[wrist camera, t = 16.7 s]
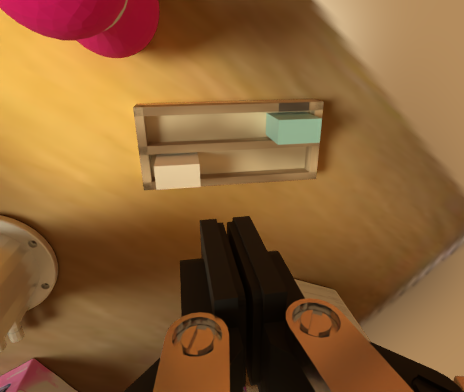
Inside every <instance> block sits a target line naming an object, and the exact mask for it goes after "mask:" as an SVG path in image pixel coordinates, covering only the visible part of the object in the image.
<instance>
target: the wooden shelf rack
mask: <svg viewBox="0 0 464 392" xmlns="http://www.w3.org/2000/svg"><path fill="white" fill-rule="evenodd" d="M323 104H324V102H323V101H320V100H316V99H293V100H259V101H225V102H191V103H157V104H136V105H135V106H134V107H133V109H134V117H135V125H136V132H137V140H138V148H139V156H140V163H141V171H142V179H143V186H144V190H154V189H156V182H155V173H154V163H155V159H156V155H157V154H171V153H191V152H197V154H198V159H199V164H200V183H201V186H215V185H231V184H246V183H261V182H276V181H291V180H307V179H316V174H317V164H318V154H319V144H320V143H303V144H283V145H278V144H276V143H275V142H274V141H273V140H272V139H270V138H269V137H268V136H267V135H266V113H276V112H307V113H309V114H312V115H315V116H317V117H320V118H322V114H323Z"/></svg>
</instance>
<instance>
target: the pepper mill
mask: <svg viewBox="0 0 464 392" xmlns="http://www.w3.org/2000/svg"><path fill="white" fill-rule="evenodd" d="M0 8H1V9H2V10H3V11H4V12H5V13H6V14H7V15H9V16H10V17H11V18H13V19H14V20H15V21H17V22H18V23H19V24H21V25H23V26H25V27H27V28H28V29H30V30H32V31H34V32H37V33H39V34H41V35H44V36H47V37H51V38H56V39H60V40H76V41H78V42H79V43H80V44H82V45H83V46H84V47H85V48H87V49H89V50H91V51H93V52H95V53H96V54H99V55H102V56H105V57H110V58H124V57H129V56H131V55H134V54H136V53H138V52H139V51H141V50H142V49H144V48H145V47H146V46H147V45H148V44H149V42H150V41H151V39H152V38H153V36H154V34H155V32H156V30H157V25H158V21H159V2H158V0H0Z"/></svg>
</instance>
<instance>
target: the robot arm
mask: <svg viewBox="0 0 464 392" xmlns="http://www.w3.org/2000/svg"><path fill="white" fill-rule="evenodd" d="M200 234H201V253H202V259H192V260H182V261H180V279H181V310H182V317H181V318H179V319H178V320H176V321H175V322H174V323H173V324H172V325H171V326H170V327H169V328H168V331H167V333H166V335H165V339H164V344H163V348H162V353H161V357H160V358H159V359H158V360H157V361H156V362H155V363H154V364H153V365H152V366H151V367H150V368H149V369H148V370H147V371H145V372H144V373H143V374H142V375H141V376H140V377H139V378H138V379H137V380H136V381H135V382H134V383H133V384H132V385H131V386H130V387H128V388H127V389H126V390H125V391H124V392H243V387H245V384H246V369H247V373H248V377H249V381H250V384H251V386H252V385H257V386H258V389H259V392H464V376H455V378H454V381H452V380H451V379H449V378H448V377H446V376H445V375H443V374H441V373H439V372H437V371H435V370H433V369H431V368H429V367H426V366H424V365H422V364H420V363H417V362H415V361H413V360H410V359H408V358H406V357H403V356H401V355H399V354H397V353H395V352H392V351H390V350H387V349H385V348H383V347H381V346H378V345H376V344H374V343H372V342H369V341H368V340H367V339H366V338H365V337H364V336H363V335H362V334H361V333H360V332H359V330H358V329H357V328H356V327H355V326H354V325H353V324H352V323H351V322H350V320H349V319H348V318H347V317H346V316H345V315H344V314H343V313H342V312H341V311H340V310H339V309H338V308H337V307H335V306H334V305H332V304H330V303H328V302H326V301H323V300H319V299H312V298H307V299H305V297H304V296H303V294H302V292H301V290H300V289H299V287H298V285H297V283H296V281H295V280H294V278H293V276H292V274H291V273H290V271H289V269H288V267H287V266H286V264H285V262H284V260H283V259H282V257H281V255H280V253H279V252H278V251H269V252H267V250H266V248H265V246H264V244H263V242H262V240H261V238H260V236H259V234H258V232H257V230H256V228H255V226H254V224H253V222H252V220H251V218H250V217H249V216H245V217H233V221H232V222H227V234H226V231H225V228H224V225H223V223H217V220H216V219H209V220H200ZM57 276H58V262H57V259H56V255H55V253H54V251H53V249H52V247H51V246H50V245H49V243H48V242H47V241H46V240H45V238H44V237H42V236H41V235H40V234H39V233H38V232H37V231H36V230H34V229H32V228H31V227H29V226H28V225H26V224H24V223H22V222H20V221H17V220H15V219H13V218H9V217H5V216H2V215H0V352H1V351H3V350H4V348H5V347H6V341H5V339H4V338H5V337H6V335H7V334H8V336H9V339H10V341H11V342H18V341H20V340H21V339H22V338H23V337H24V335H25V334H24V332H23V329H22V326H21V325H20V321H21V319H22V318H23V316H24V314H25V313H26V311H27V310H30V309H32V308H34V307H35V306H37V305H39V304H40V303H41V302H43V301H44V300H45V299H46V298H47V297H48V295H49V294H50V292H51V291H52V289H53V287H54V285H55V283H56V281H57Z"/></svg>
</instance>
